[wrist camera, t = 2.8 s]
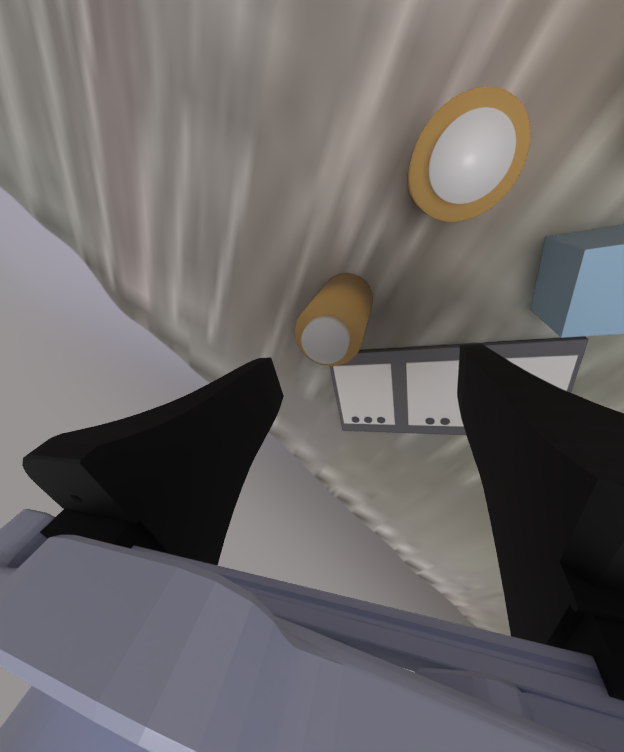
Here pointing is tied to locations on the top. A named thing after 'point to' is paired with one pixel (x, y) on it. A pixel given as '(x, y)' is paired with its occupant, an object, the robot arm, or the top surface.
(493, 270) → the top surface
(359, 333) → the bottle
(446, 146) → the bottle
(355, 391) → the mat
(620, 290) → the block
